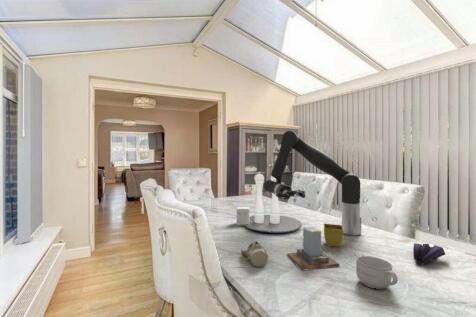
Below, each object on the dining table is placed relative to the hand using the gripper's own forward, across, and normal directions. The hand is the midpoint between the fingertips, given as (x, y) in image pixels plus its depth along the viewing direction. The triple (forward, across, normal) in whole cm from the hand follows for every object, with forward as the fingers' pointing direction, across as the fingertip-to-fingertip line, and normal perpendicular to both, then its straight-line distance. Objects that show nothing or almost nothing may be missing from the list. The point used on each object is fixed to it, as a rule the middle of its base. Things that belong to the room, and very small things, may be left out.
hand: (296, 196), depth 119 cm
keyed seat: (+18, -2, +24) cm, 30 cm away
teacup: (+42, +9, +24) cm, 48 cm away
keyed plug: (+18, -2, +22) cm, 29 cm away
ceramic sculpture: (+14, -25, +24) cm, 37 cm away
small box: (-40, -17, +24) cm, 50 cm away
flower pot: (+5, +17, +24) cm, 30 cm away
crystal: (+28, +46, +24) cm, 59 cm away
